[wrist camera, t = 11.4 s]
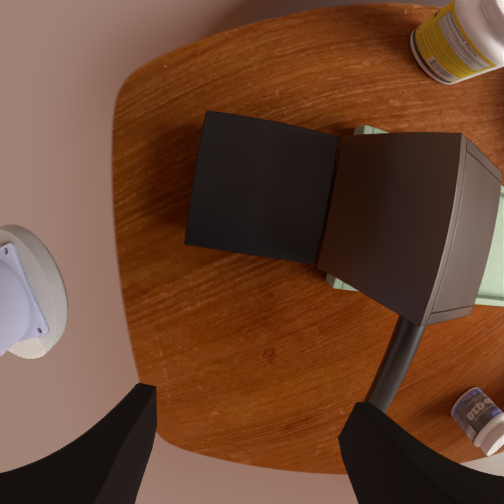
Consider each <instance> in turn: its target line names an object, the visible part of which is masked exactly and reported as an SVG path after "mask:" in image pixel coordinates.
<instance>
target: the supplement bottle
mask: <svg viewBox="0 0 504 504" xmlns="http://www.w3.org/2000/svg"><path fill="white" fill-rule="evenodd" d="M410 44H411V49H412V52H413V54H414V57H415V59H416V60H417V62H418V64H419V65H420V66H421V68H422V69H423V70H424V71H425V72H426V73H427V74H428V75H429V76H430V77H432V78H433V79H434V80H436V81H438V82H440V83H443V84H454V83H458V82H461V81H463V80H466V79H469V78H472V77H474V76H477V75H480V74H483V73H486V72H489V71H492V70H495V69H498V68H501V67H504V0H454V1H452V2H451V3H449V4H448V5H447V6H445V7H444V8H442V9H441V10H439V11H438V12H437V13H435V14H434V15H433V16H431V17H430V18H429V19H427V20H426V21H424V22H423V23H422V24H420V25H419V26H418V27H417V28H415V29H414V30H413V32H412V34H411V37H410Z"/></svg>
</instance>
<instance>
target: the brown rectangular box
mask: <svg viewBox="0 0 504 504" xmlns="http://www.w3.org/2000/svg"><path fill="white" fill-rule="evenodd" d="M501 182H502V172H501V171H500V170H499V169H498V168H497V167H496V166H495V165H494V164H493V163H492V162H491V161H490V160H489V159H488V158H487V157H486V156H485V155H484V154H483V153H482V152H481V151H480V150H479V149H478V148H477V147H476V146H475V145H474V144H473V143H472V142H471V141H470V140H469V139H467V138H466V137H465V136H464V135H463V134H462V133H443V132H403V133H375V134H358V135H344V136H342V142H341V148H340V154H339V161H338V166H337V172H336V178H335V184H334V189H333V195H332V200H331V205H330V210H329V215H328V220H327V225H326V230H325V235H324V239H323V244H322V248H321V253H320V257H319V262H318V266H317V267H318V268H320V269H321V270H323V271H325V272H327V273H328V274H330V275H332V276H334V277H335V278H337V279H339V280H341V281H342V282H344V283H346V284H347V285H349V286H351V287H353V288H354V289H356V290H358V291H360V292H361V293H363V294H365V295H366V296H368V297H370V298H372V299H373V300H375V301H377V302H378V303H380V304H382V305H384V306H385V307H387V308H389V309H390V310H392V311H394V312H396V313H397V314H399V317H398V320H397V322H396V325H395V328H394V331H393V333H392V336H391V339H390V341H389V344H388V346H387V349H386V352H385V354H384V356H383V359H382V361H381V364H380V366H379V368H378V371H377V373H376V375H375V377H374V380H373V382H372V384H371V386H370V388H369V391H368V393H367V395H366V397H365V399H364V401H363V402H371V403H372V404H373V405H375V406H376V407H377V408H378V409H380V410H381V411H382V412H383V413H386V412H387V410H388V408H389V406H390V405H391V403H392V401H393V399H394V397H395V395H396V393H397V391H398V389H399V387H400V385H401V383H402V381H403V379H404V377H405V375H406V373H407V371H408V368H409V366H410V364H411V362H412V360H413V357H414V355H415V353H416V350H417V348H418V346H419V343H420V341H421V338H422V336H423V333H424V331H425V328H426V325H431V324H435V323H439V322H444V321H448V320H452V319H456V318H460V317H464V316H468V315H470V314H471V312H472V309H473V305H474V303H475V301H476V298H477V295H478V291H479V288H480V285H481V282H482V278H483V275H484V271H485V268H486V264H487V260H488V256H489V252H490V248H491V244H492V239H493V234H494V229H495V224H496V219H497V213H498V206H499V200H500V192H501Z"/></svg>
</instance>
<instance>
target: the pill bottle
mask: <svg viewBox="0 0 504 504" xmlns="http://www.w3.org/2000/svg"><path fill="white" fill-rule="evenodd" d="M451 416H452V417H453V419H454V420H455V421H456V423H457V424H458V425H459V426H460V428H461V429H462V430H463V431H464V433H465V434H466V435H467V437H468V438H469V439H470V440H471V442H472V443H473V444H474V446H476V447H481V449H482V451H483V452H484V453H485V454H486V455H487V456H489V455H491V454H493V453H494V452H496V451H497V450H498V449H499V448H500V447H501V446H502V445H503V444H504V413H503V412H502V411H501V410H500V409H499V408H498V407H497V406H496V405H495V404H494V403H493V402H492V401H491V400H490V399H489V397H488V396H487V395H486V394H485V393H484V392H483V391H482V390H481V389H479V388H478V387H473V388H471V389H469V390H468V391H466V392H465V393H464V394H463V395H461V396H460V398H459V399H458V400H457V401H456V403H455V404H454V406H453V408H452V411H451Z"/></svg>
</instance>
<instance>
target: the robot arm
mask: <svg viewBox="0 0 504 504" xmlns="http://www.w3.org/2000/svg"><path fill="white" fill-rule="evenodd" d="M7 250H8V252H7ZM40 329H41V330H40ZM49 331H50V330H49V326H48V324H47V322H46V320H45V318H44V316H43V314H42V312H41V310H40V308H39V305H38V303H37V301H36V299H35V297H34V294H33V292H32V290H31V287H30V285H29V282H28V280H27V277H26V275H25V272H24V270H23V267H22V264H21V262H20V259H19V256H18V253H17V250H16V247H15V245H14V243H12V242H9V243H7V244H5V245H4V246H2V247H1V248H0V356H2V355H3V354H4V353H5V352H6V351H7V350H8V349H9V348H10V347H11V346H13V345H14V344H15V343H16V342H20V341H23V340H27V339H31V338H35V337H39V336H42V335H46V334H47V333H49ZM156 428H157V406H156V386H152V385H147V384H143V383H138V384H136V385H135V386H134V388H133V389H132V390H131V391H130V392H129V393H128V394H127V395H126V396H125V397H124V398H123V399H122V401H120V402H119V404H117V405H116V406H115V407H114V408H113V409H112V410H111V411H110V412H109V413H108V414H107V415H106V416H105V417H104V418H102V419H101V420H100V421H99V422H98V423H96V424H95V425H94V426H93V427H92V428H90V429H89V430H88V431H87V432H85V433H84V434H83V435H81V436H80V437H78V438H77V439H76V440H74V441H73V442H71V443H70V444H68V445H66V446H65V447H63V448H61V449H60V450H58V451H56V452H54V453H52V454H51V455H49V456H47V457H45V458H43V459H40V460H38V461H36V462H33V463H30V464H28V465H25V466H23V467H20V468H17V469H14V470H11V471H7V472H3V473H0V504H135V501H136V496H137V493H138V490H139V487H140V484H141V481H142V478H143V475H144V472H145V469H146V466H147V463H148V460H149V457H150V453H151V451H152V447H153V442H154V438H155V433H156ZM338 439H339V445H340V450H341V455H342V459H343V462H344V465H345V468H346V471H347V473H348V476H349V479H350V481H351V484H352V487H353V490H354V492H355V495H356V497H357V501H358V504H504V477H503V476H496V475H491V474H488V473H484V472H480V471H477V470H474V469H470V468H468V467H466V466H463V465H461V464H458V463H456V462H454V461H452V460H450V459H448V458H446V457H444V456H442V455H440V454H438V453H437V452H435V451H433V450H432V449H430V448H429V447H427V446H426V445H424V444H423V443H421V442H420V441H418V440H417V439H416V438H414V437H413V436H412V435H410V434H409V433H408V432H407V431H405V430H404V429H403V428H402V427H400V426H399V425H398V424H397V423H395V422H394V421H393V420H392V419H391V418H389V417H388V416H387V415H386V414H385V413H383V412H382V411H381V410H380V409H378V408H377V407H376V406H375V405H373V404H372V403H371V402H357V403H356V404H355V406H354V408H353V410H352V412H351V414H350V416H349V418H348V420H347V422H346V424H345V426H344V428H343V429H342V431H341V433H340V435H339V437H338Z"/></svg>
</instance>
